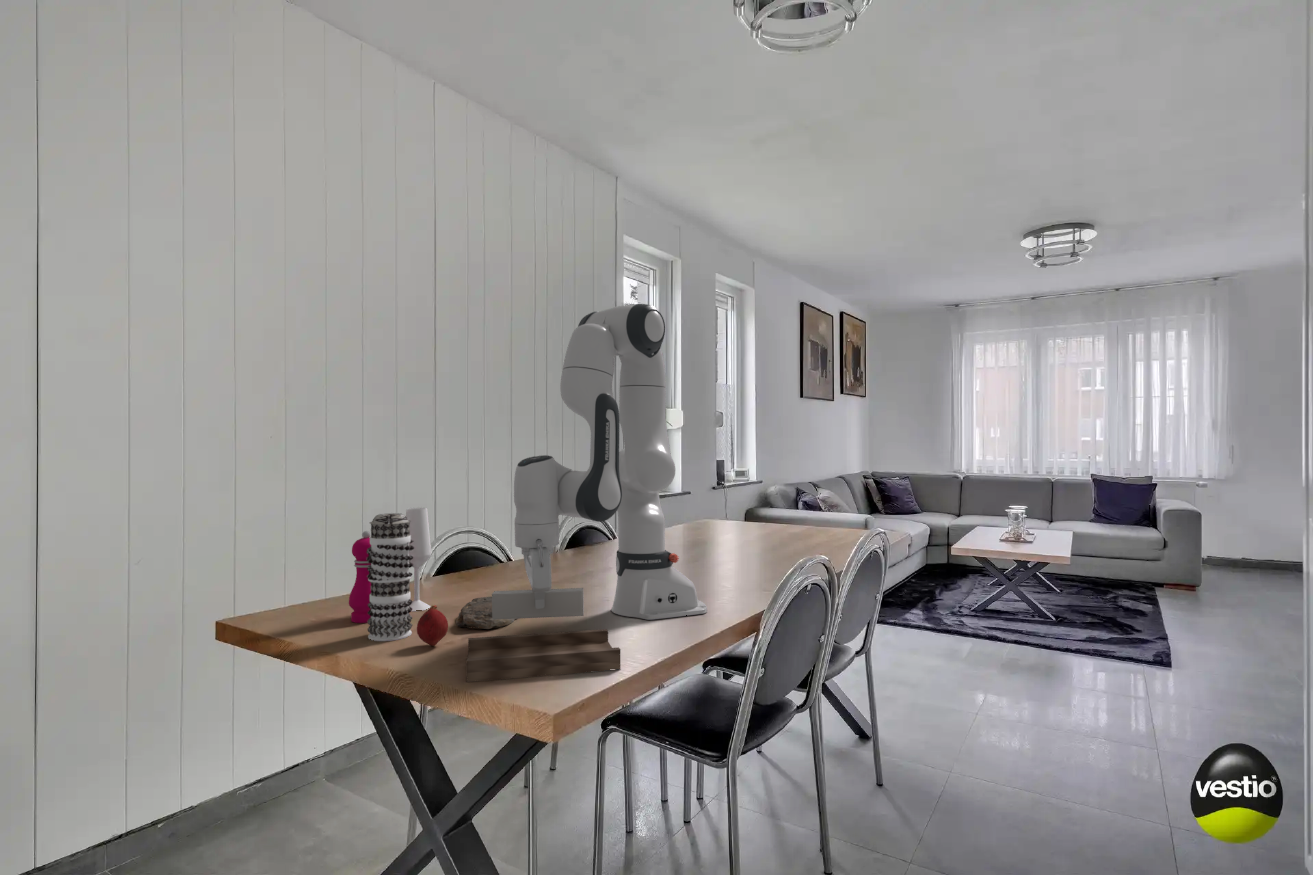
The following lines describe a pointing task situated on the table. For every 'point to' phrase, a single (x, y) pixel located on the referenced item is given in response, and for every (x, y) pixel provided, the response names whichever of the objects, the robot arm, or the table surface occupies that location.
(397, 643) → the table surface
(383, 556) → the decorative candle
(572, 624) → the table surface
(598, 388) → the robot arm
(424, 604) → the champagne flute
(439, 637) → the onion
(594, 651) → the grooved wooden tray
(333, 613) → the table surface
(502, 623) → the rough brown rock
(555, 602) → the clay strip
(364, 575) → the pepper mill
